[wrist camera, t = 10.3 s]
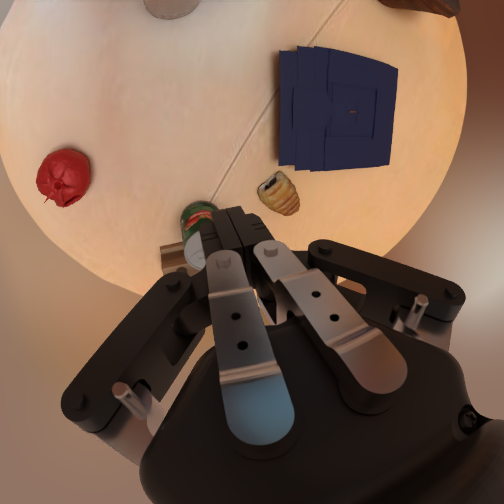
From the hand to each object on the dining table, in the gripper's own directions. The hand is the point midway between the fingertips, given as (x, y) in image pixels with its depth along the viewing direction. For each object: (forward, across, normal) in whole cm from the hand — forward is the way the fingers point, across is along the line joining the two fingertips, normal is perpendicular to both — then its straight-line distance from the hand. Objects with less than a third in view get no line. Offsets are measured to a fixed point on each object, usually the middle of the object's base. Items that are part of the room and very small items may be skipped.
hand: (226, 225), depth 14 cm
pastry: (+36, -16, +15) cm, 42 cm away
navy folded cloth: (+35, -30, -1) cm, 46 cm away
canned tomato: (+35, 0, +18) cm, 39 cm away
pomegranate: (+35, +22, +2) cm, 42 cm away
